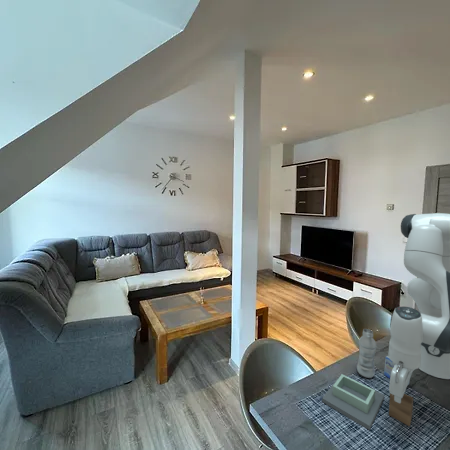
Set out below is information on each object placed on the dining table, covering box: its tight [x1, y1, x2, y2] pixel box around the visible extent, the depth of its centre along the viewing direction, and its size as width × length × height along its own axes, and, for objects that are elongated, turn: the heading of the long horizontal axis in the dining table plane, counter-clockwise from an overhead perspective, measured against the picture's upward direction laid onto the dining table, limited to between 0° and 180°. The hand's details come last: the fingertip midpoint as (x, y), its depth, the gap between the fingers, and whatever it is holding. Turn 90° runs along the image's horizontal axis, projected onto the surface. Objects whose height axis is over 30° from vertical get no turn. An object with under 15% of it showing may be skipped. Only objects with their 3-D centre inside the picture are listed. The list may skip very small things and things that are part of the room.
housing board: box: [321, 373, 385, 431], centre depth 93 cm, size 18×16×5 cm
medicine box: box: [383, 355, 411, 386], centre depth 103 cm, size 8×4×9 cm, turn 21°
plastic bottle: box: [356, 328, 378, 379], centre depth 105 cm, size 6×7×20 cm
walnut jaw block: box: [388, 392, 414, 427], centre depth 85 cm, size 4×6×8 cm, turn 44°
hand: (401, 393), depth 85 cm, fingers open, 8 cm apart
